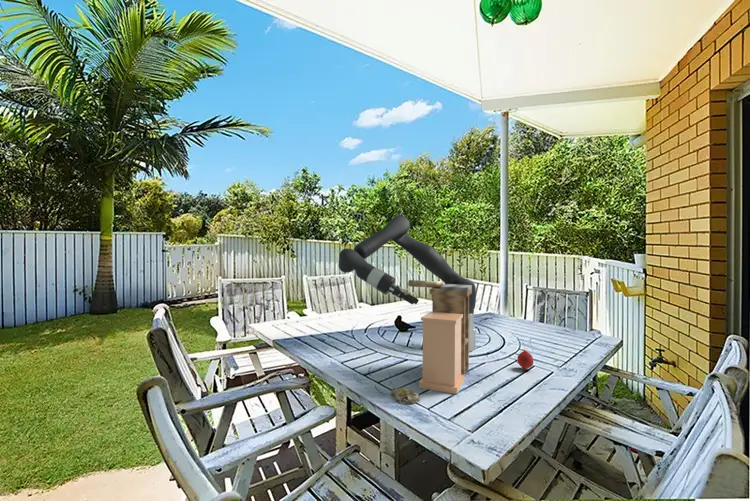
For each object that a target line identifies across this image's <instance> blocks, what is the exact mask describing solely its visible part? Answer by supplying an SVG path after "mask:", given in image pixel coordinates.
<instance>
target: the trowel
mask: <svg viewBox="0 0 750 501" xmlns="http://www.w3.org/2000/svg"><path fill="white" fill-rule="evenodd" d="M407 286H408V287H410V288H413V287H415V288H429V289H432V288H441V290H458V291H468V290H470V289H471V288H472V285H456V284H445V283H444V282H443V281H442V280H441V281H439V280H436V281H435V280H415V279H413V280H412V279H409V280H408V282H407Z"/></svg>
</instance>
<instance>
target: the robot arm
mask: <svg viewBox="0 0 750 501" xmlns="http://www.w3.org/2000/svg"><path fill="white" fill-rule="evenodd" d="M410 228H411V222H410V221H409V219H408V218H407V217H406V216H404V215H396V216H393V218H391V219H390V220H389V221H388V222H387V223H386V224H385V226H383V227H382V228H380V229H379V230H378V231H376V232H375V233H373V234H372V235H369V237H367V238H364V239H363V240H361V241H359V243H357V244H356V245H355V246H354V248H353V249H352V248H346V247H345V248H343V249H342V250H341V251H340V253H339V254H338V255H339V256H338V268H339V270H340V271H341V272H343V273H347V274H348V273H352V272H354V271H355V274H356V276H357V277H358V278H359V279H360V280H362V281H363V282H366V283H367V284H368V285H369V286H371V287H372V288H374V289H375V290H377V291H379V292H380V293H382V294H384V295H388V294H389V293H391V295H393V296H395V297H396V298H399V299H401V300H403V301H405V302H407V303H409V304H411V305H418V303H419V301H420V300H419V299H418V298H417V297H416V296H414V295H412V294H411V293H410V292H408V291H407V289H405V288H403V287H402V286H400V285H398V284H396V285H395V283H396V278H395V277H394V276H392V275H391V274H389V273H387V272H385V271H384V270H382V269H380V268H378V267H375V266H374V265H372V264H371V263H369V262H368V261H367V260H366V259H367V258H369V257H370V256H372V255H373V254H374V253H376V252H377V251H378V250H380V249H381V248H382V247H383V246H385V245H386V244H387V243H389V241H392V242H394V243H395V244H397V245H398V246H400V247H401V248H402V249H404V250H405V251H406V252H407V253H408V254H410V255H411V256H412V257H413V258H414V259H415V260H416V261H417V262H419V264H421V265H422V266H423V267H424V268H426V270H427V271H429V272H430V273H432V275H434V276H436V277H437V278H438V279H439V280H441V281H442V282H444V285H445V284H456V285H472V293H471V294H470V295H469V353H470V352H473V351H474V350H476V335H477V334H476V331H477V330H476V328H475V309H476V301H477V289H476V288H477V287H476V284H475V282H474V281H473V280H472V279H469V278H465V277H463V276H462V275H460V274H459V273H458V272H456V271H455V270H454V269H453V268H452V267H451V266H450V265H449V263H448V262H447V261H446V259H445V258H444V256H443V255H442V254H441V253H439V252H438V251H437V250H436V249H435V248H434V247H432V246H431V245H429V244H427V243H424V242H422V241H419V240H416V239H414V238H413V237H411V236H410V235H409V234H408V232H409V230H410Z"/></svg>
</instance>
